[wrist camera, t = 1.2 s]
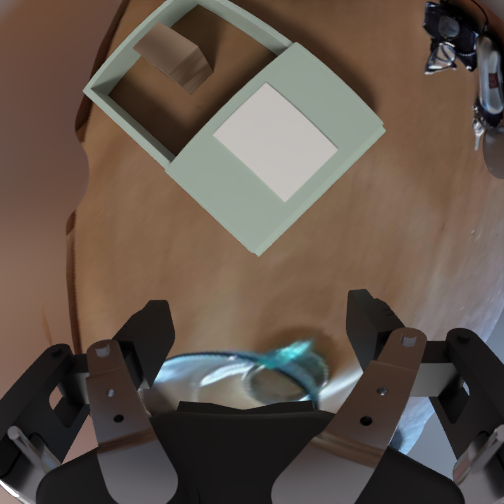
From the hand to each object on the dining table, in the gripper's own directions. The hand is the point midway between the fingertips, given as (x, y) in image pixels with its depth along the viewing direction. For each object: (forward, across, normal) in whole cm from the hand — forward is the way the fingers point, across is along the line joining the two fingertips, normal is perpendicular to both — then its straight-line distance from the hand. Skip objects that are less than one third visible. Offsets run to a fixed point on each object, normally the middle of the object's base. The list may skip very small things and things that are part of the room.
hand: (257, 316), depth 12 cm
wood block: (+26, +9, -22) cm, 36 cm away
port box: (+26, +4, -16) cm, 31 cm away
